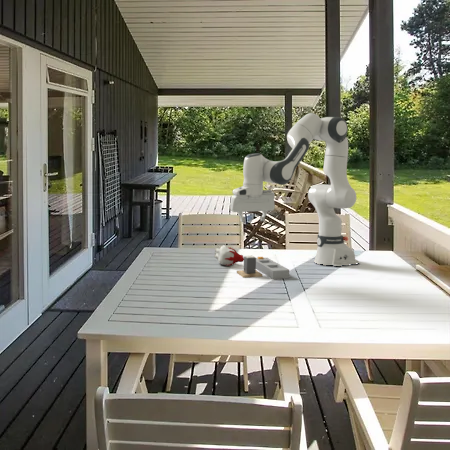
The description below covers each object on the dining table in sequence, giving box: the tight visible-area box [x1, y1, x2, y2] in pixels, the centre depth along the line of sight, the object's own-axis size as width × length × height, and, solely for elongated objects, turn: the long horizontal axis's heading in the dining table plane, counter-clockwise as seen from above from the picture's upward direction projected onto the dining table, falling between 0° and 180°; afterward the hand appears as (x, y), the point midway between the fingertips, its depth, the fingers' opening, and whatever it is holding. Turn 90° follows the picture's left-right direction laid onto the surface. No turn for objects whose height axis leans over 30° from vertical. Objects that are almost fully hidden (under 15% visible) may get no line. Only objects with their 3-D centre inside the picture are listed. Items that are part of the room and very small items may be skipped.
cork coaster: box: [236, 269, 263, 278], centre depth 244 cm, size 9×9×1 cm
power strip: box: [255, 256, 290, 280], centre depth 253 cm, size 8×32×4 cm, turn 18°
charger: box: [243, 254, 257, 274], centre depth 244 cm, size 4×4×7 cm
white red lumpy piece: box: [214, 244, 245, 267], centre depth 263 cm, size 9×11×15 cm
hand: (252, 221), depth 242 cm, fingers open, 8 cm apart
